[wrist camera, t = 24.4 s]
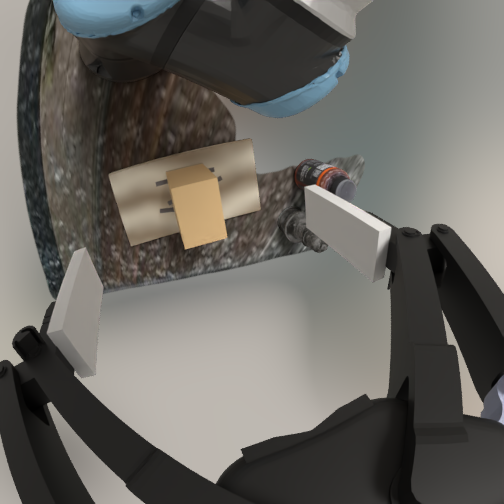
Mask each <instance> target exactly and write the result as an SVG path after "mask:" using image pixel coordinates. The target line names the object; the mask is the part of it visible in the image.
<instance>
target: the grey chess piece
mask: <svg viewBox="0 0 504 504" xmlns="http://www.w3.org/2000/svg"><path fill="white" fill-rule="evenodd" d="M278 226H279V228H280V230H281V231H283V232H284V233H285V235H286V237H287V238H288V240H290V241H291V242H294V243H299V242H302V243H303V244H304V245H305V246H307V247H310V248H311V249H313V250H314V251H315V252H318V253H320V252H323V251H325V250H327V247H328V244H326V243H325V242H324V241H323V240H321V239H320V238H319V237H318V236H317V235H315V234H314V233H313V232H312V231H310V230H309V229H308V228H307V227H306V212H305V211H302V210H301V209H300V208H298V207H295V206H291V207H288V208H286V209H284V210H283V211H282V212H281V214H280V216H279V218H278Z"/></svg>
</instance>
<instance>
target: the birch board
mask: <svg viewBox="0 0 504 504" xmlns="http://www.w3.org/2000/svg"><path fill="white" fill-rule="evenodd" d="M198 163H203V164H204V165H205V166H206V167H207V168H208V169H209V170H210V171H211V172H212V173H213V174H214V175H215V176H216V177H217V179H218V185H219V191H220V197H221V203H222V209H223V215H224V219H228V218H231V217H235V216H239V215H243V214H247V213H250V212H254V211H258V210H261V208H260V200H259V192H258V184H257V176H256V168H255V160H254V152H253V145H252V139H243V140H238V141H232V142H227V143H222V144H217V145H212V146H208V147H203V148H199V149H194V150H190V151H186V152H182V153H178V154H174V155H170V156H166V157H162V158H159V159H155V160H151V161H148V162H144V163H141V164H138V165H134V166H131V167H128V168H124V169H121V170H118V171H115V172H112V173H109V179H110V182H111V186H112V189H113V193H114V196H115V199H116V203H117V206H118V209H119V212H120V215H121V218H122V221H123V224H124V227H125V230H126V233H127V236H128V239H129V242H130V245H131V246H134V245H137V244H140V243H144V242H147V241H150V240H154V239H157V238H160V237H164V236H167V235H171V234H174V233H178V232H180V230H179V227H178V223H177V220H176V216H175V212H174V207H173V203H172V199H171V195H170V190H169V186H168V181H167V176H166V172H165V171H169V170H173V169H177V168H181V167H185V166H189V165H194V164H198Z"/></svg>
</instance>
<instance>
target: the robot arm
mask: <svg viewBox="0 0 504 504" xmlns="http://www.w3.org/2000/svg"><path fill="white" fill-rule="evenodd" d="M372 1H373V0H53V3H54V8H55V11H56V13H57V15H58V17H59V20H60V22H61V24H62V25H63V27H64V28H65V29H67V31H68V32H70V33H72V34H73V35H74V36H75V37H76V38H77V39H78V40H79V51H80V55H81V57H82V60H83V62H84V63H85V65H86V66H87V67H88V68H89V69H90V70H91V71H92V72H93V73H95V74H96V75H97V76H99V77H101V78H103V79H105V80H108V81H113V82H133V81H138V80H141V79H144V78H147V77H149V76H151V75H153V74H155V73H157V72H158V71H160V70H161V69H163V70H165V71H168V72H170V73H173V74H175V75H178V76H180V77H182V78H185V79H187V80H189V81H192V82H194V83H196V84H199V85H201V86H203V87H205V88H207V89H210V90H212V91H214V92H216V93H218V94H220V95H222V96H224V97H227V98H228V99H230V101H231V102H232V103H234V104H235V105H237V106H240V107H245V108H249V109H251V110H253V111H255V112H257V113H259V114H261V115H264V116H266V117H273V118H283V117H289V116H292V115H295V114H298V113H299V112H302V111H304V110H306V109H308V108H310V107H311V106H313V105H314V104H316V103H317V102H319V101H320V100H321V99H323V98H324V97H325V96H326V95H327V94H328V93H329V92H330V91H331V90H332V89H333V88H334V87H335V86H336V85H337V84H338V80H337V78H338V77H340V76H342V75H344V74H345V72H346V70H347V67H348V64H349V57H350V56H349V52H348V49H347V46H346V44H347V43H348V42H350V41H351V40H352V39H353V38H354V37H355V36H356V31H355V17H356V14H357V13H358V12H359V11H360V10H361V9H363V8H364V7H365V6H366V5H368V4H369V3H370V2H372ZM304 188H305V208H306V227H307V228H308V229H309V230H310V231H312V232H313V233H314V234H315V235H317V236H318V237H319V238H320V239H321V240H323V241H324V242H325V243H326V244H328V245H329V246H330V247H331V248H332V249H334V250H335V251H336V252H337V253H338V254H340V255H341V256H342V257H343V258H344V259H346V260H347V261H348V262H349V263H350V264H352V265H353V266H354V267H355V268H356V269H357V270H359V271H360V272H361V273H362V274H363V275H364V276H366V277H367V278H368V279H369V280H370V281H371V282H375V281H377V280H379V279H382V278H383V277H384V275H385V269H386V267H387V268H388V269H389V270H391V273H390V278H389V284H388V289H390V293H391V359H390V378H389V389H388V394H387V398H378V399H373V400H370V399H369V398H368V396H367V395H366V394H364V395H362V396H360V397H359V398H357V399H355V400H353V401H351V402H350V403H348V404H346V405H344V406H342V407H340V408H339V409H337V410H336V411H335V412H334V413H333V414H331V415H330V416H329V417H328V418H326V419H325V420H324V421H323V422H322V423H320V424H319V425H318V426H317V427H316V428H314V429H313V430H311V431H307V432H302V433H297V434H291V435H285V436H279V437H273V438H271V439H268V440H265V441H263V442H260V443H257V444H254V445H252V446H249V447H246V448H242V449H241V451H242V454H243V457H241V458H239V459H238V460H236V461H235V462H234V463H233V464H231V465H230V466H229V467H228V468H227V469H226V470H225V471H224V472H223V474H222V475H221V476H220V478H219V479H218V481H217V483H216V484H214V483H213V482H211V481H209V480H207V479H205V478H204V477H202V476H200V475H199V474H197V473H195V472H194V471H192V470H190V469H189V468H187V467H186V466H184V465H182V464H181V463H179V462H178V461H176V460H175V459H173V458H172V457H170V456H169V455H167V454H166V453H164V452H163V451H161V450H160V449H158V448H156V447H155V446H153V445H152V444H150V443H149V442H148V441H146V440H145V439H144V438H143V437H141V436H140V435H138V434H137V433H136V432H135V431H134V430H132V429H131V428H130V427H129V426H128V425H126V424H125V423H124V422H123V421H122V420H120V419H119V418H118V417H117V416H116V415H115V414H113V413H112V412H111V411H110V410H109V409H108V408H107V407H106V406H104V405H103V404H102V403H101V402H100V401H99V400H98V399H97V398H96V397H95V396H94V395H93V394H92V393H91V392H90V391H89V390H88V389H87V388H86V387H85V386H84V385H83V384H82V383H81V382H80V381H79V380H78V379H77V378H76V377H75V376H74V370H75V371H76V372H77V374H78V375H79V376H80V377H81V378H84V377H89V376H94V375H96V356H97V341H98V330H99V319H100V310H101V302H102V295H103V288H104V287H103V285H102V283H101V281H100V278H99V276H98V274H97V272H96V270H95V267H94V265H93V263H92V261H91V258H90V256H89V254H88V251H87V249H86V247H85V248H82V249H79V250H76V251H74V253H73V256H72V258H71V261H70V263H69V266H68V269H67V271H66V274H65V277H64V280H63V282H62V285H61V288H60V291H59V294H58V297H57V300H56V301H55V302H52V303H51V304H50V306H49V307H48V309H47V310H46V314H45V316H44V318H45V319H43V323H42V324H43V325H42V326H41V329H40V333H38V331H37V330H36V328H35V327H33V326H26V327H24V328H22V329H21V330H20V331H19V332H18V333H17V334H16V335H15V337H14V339H13V342H12V345H13V348H14V349H15V350H16V352H17V353H18V354H19V355H20V356H21V358H22V359H23V360H24V361H23V362H21V363H20V364H18V365H16V366H13V365H12V364H11V362H10V361H8V360H3V361H1V362H0V434H1V439H2V443H3V447H4V450H5V455H6V458H7V462H8V465H9V468H10V471H11V474H12V477H13V480H14V483H15V486H16V489H17V491H18V494H19V497H20V499H21V501H22V504H95V502H94V501H93V500H92V498H91V496H90V494H89V493H88V491H87V489H86V488H85V486H84V484H83V483H82V481H81V479H80V477H79V476H78V474H77V472H76V470H75V468H74V466H73V464H72V462H71V460H70V458H69V456H68V454H67V452H66V450H65V448H64V445H63V443H62V441H61V439H60V436H59V434H58V432H57V429H56V427H55V424H54V422H53V420H52V417H51V414H50V412H49V409H48V406H47V403H49V402H52V404H53V405H54V406H55V407H56V409H57V410H58V412H59V413H60V414H61V415H62V417H63V418H64V419H65V420H66V422H67V423H68V424H69V425H70V426H71V428H72V429H73V430H74V431H75V432H76V434H77V435H78V436H79V437H80V438H81V439H82V440H83V441H84V442H85V444H86V445H87V446H88V447H89V448H90V449H91V450H92V451H93V452H94V453H95V454H96V455H97V456H98V457H99V458H100V459H101V460H102V461H103V462H104V463H105V464H106V465H107V466H108V467H109V468H110V469H111V470H112V471H113V472H114V473H115V474H116V475H117V476H119V477H120V478H121V479H122V480H123V481H124V482H125V483H126V487H127V488H128V489H129V490H130V491H131V492H132V493H133V494H134V495H135V496H137V497H138V498H139V499H140V500H141V501H143V502H144V503H145V504H504V294H503V293H502V291H501V290H500V288H499V287H498V285H497V284H496V283H495V281H494V280H493V278H492V277H491V276H490V274H489V273H488V272H487V271H486V269H485V268H484V267H483V265H482V264H481V263H480V261H479V260H478V259H477V258H476V256H475V255H474V254H473V253H472V252H471V250H470V249H469V248H468V247H467V245H466V244H465V243H464V242H463V241H462V240H461V239H460V237H459V236H458V235H457V234H456V233H455V231H454V230H453V229H451V228H450V227H448V226H447V225H444V224H434V225H432V227H431V232H430V234H424V235H422V234H421V232H419V231H418V230H416V229H414V228H409V227H403V228H399V229H398V228H396V227H394V226H393V225H391V224H390V223H388V222H386V221H385V220H384V221H383V219H381V218H378V216H376V215H374V214H373V213H370V212H367V211H364V210H361V209H359V208H358V207H356V206H354V205H352V204H350V203H349V202H347V201H345V200H343V199H341V198H340V197H338V196H336V195H334V194H332V193H330V192H329V191H327V190H325V189H323V188H321V187H319V186H317V185H311V186H306V187H304ZM442 311H443V313H444V315H445V317H446V319H447V321H448V323H449V325H450V327H451V330H452V332H453V334H454V336H455V339H456V341H457V343H458V345H459V348H460V350H461V353H462V355H463V357H464V360H465V363H466V365H467V368H468V370H469V373H470V376H471V378H472V381H473V383H474V386H475V388H476V391H477V392H478V394H479V396H480V398H481V400H482V402H483V403H484V409H483V411H482V412H481V418H480V417H475V416H470V415H465V414H463V406H462V391H461V380H460V372H459V364H458V356H457V351H456V347H455V346H454V345H448V344H447V338H446V331H445V326H444V320H443V314H442Z"/></svg>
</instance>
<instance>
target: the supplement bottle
mask: <svg viewBox="0 0 504 504" xmlns="http://www.w3.org/2000/svg"><path fill="white" fill-rule="evenodd" d="M295 182H296V184H297V186H298V187H299V188H300V189H302V190H303V191H305V188H304V187H306V186H311V185H317V186H319V187H321V188H323V189H325V190H327V191H329V192H330V193H332V194H334V195H336V196H338V197H340V198H341V199H343V200H345V201H347V202H349V203H350V202H351V201H352V200H353V199H354V197H355V195H356V185H355V183H354V182H353V181H352V180H350V178H349V176H348V174H347V173H346V172H345V171H343V170H342V169H339V168H337V167H334V166H331V165H328V164H326V163H323V162H320V161H317V160H314V159H307V160H304V161H302V162H301V163H300V164H299V165H298V167H297V168H296V171H295Z"/></svg>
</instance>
